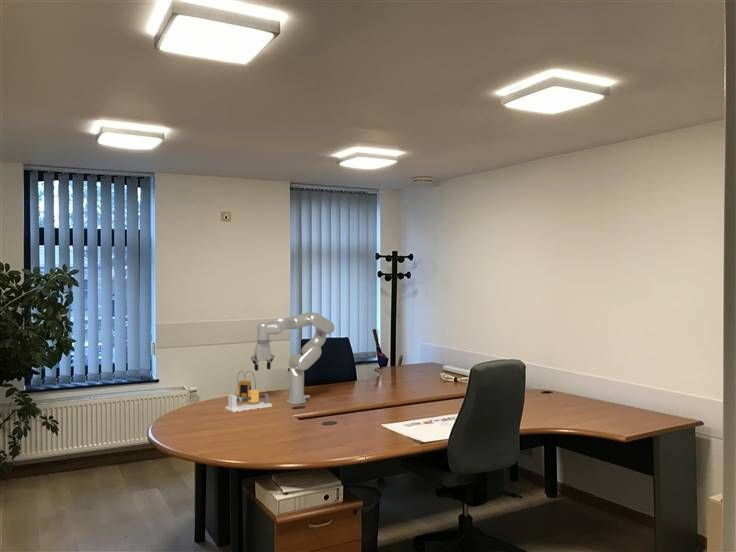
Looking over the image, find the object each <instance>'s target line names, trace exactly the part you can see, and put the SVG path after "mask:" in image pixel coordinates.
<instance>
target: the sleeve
mask: <svg viewBox="0 0 736 552" xmlns="http://www.w3.org/2000/svg"><path fill="white" fill-rule="evenodd" d="M259 394H260V392H259V390H258V389H256V390H255V389H251V390H249V396H248V397H251V399H248V402H249V403H255V402H260V398H259V396H260V395H259ZM248 402H247V403H248Z"/></svg>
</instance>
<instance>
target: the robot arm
mask: <svg viewBox="0 0 736 552" xmlns="http://www.w3.org/2000/svg"><path fill="white" fill-rule="evenodd" d="M308 326H312V327H313V326H314V327H315V332H314V335H313V336H312V337H311V338H310V340H309V341H307V342H306V344H304V345H303V346H302V348H301V354H300V353H294V354H292V355H290V357H289V359H288V367H289V368H288V369H289V380H288V383H289V387H288V388H289V389H288V398H287V399H286V403H288V404H290V405H292V404H293V405H301V403H302V404H306V402H307V400H306V399H310V398H311V395H310V394H307V395H306V394H305V371H306V370H309V368H310V367H312V365H314V364H315V363H316V362H317V361H318V360H319V359H320V357H321V356H322V353H323V352H322V346H323V345H324V344H325V342H326V340H327V335H330V334H332V333H334V331H335V324H334V322H332V321H331V320H329V319H328V318H326V317H325V316H323V315H321V314H320V313H319V312H318V313H317V312H312V311H308V312H305V313H301V314H297V315H293V316H288V317H283V318H279V319H278V318H277V319H273V320H270V321H268V322H259V323H257V326H256V327H257V329H256V330H257V331H256V332H257V335H256V344H255V345H254V350H253V351H254V353H253V356H251V357H250V360H251V363H253V365H254V366H253V367H254V371H256V372H257V371H259V363H260V361H266V370H269V371H271V367H272V366H271V364H272V362H273V361H274V358H275V355H273V354H272V351H271V350H272V349H271V344H270V343H271V342H272V341H271V340H270V335H279V334H281V333H282V331H284V330H296V329H300V328H305V327H308Z"/></svg>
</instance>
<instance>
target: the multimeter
mask: <svg viewBox="0 0 736 552" xmlns="http://www.w3.org/2000/svg"><path fill="white" fill-rule="evenodd" d="M248 372H249V373H252V375H253V379H254V380H256V378H255V375H254V373H253V372H252V371H250V370H249V371H246V372H245V373H244V380H240V381H239V374H240V373H242V370H240V371H239V372H238V374H237V380H238V387H237V389H236V391H235V393H234V395H236V393H237V391H238V396H237V399H238V398H239V397H241V398H247V397H248V396H249V390H252V385H251V384H252V383H251V381H250V380H247V376H246V375H247V373H248ZM254 382H255V383H254V385H255V388H254V390H257V387H256V386H257V383H256V381H254ZM247 401H248V399H247V400H242V401H241V402H247Z"/></svg>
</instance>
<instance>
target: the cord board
mask: <svg viewBox="0 0 736 552" xmlns="http://www.w3.org/2000/svg"><path fill="white" fill-rule="evenodd" d="M260 398H263V399H262V400H263V401H259V402H253V403H251V402H249V403H248V402H247V403H243V404H237V403H240V402H243V401H242V400H247V399H251V397H247V398H241V397H239V398H238V396H237V395H236V394H228V398H227V400H228V401H227V403H228V404H227V405H228V406H227V405H226V406H225V410H227V409H228V410H227V411H229V410H230V411H229V412H231V411H232V412H231V413H237V412H236V411H238V412H242V411H243V410H245V411H249V410H250V409H252V410H258V409H257V408H259V409H265V408H271V407H273V404H272V403H271V402H270V399H269V398H270V395H269V393H264V394H263V395H259V399H260ZM237 401H238V402H237ZM250 411H251V410H250ZM243 412H244V411H243Z"/></svg>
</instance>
